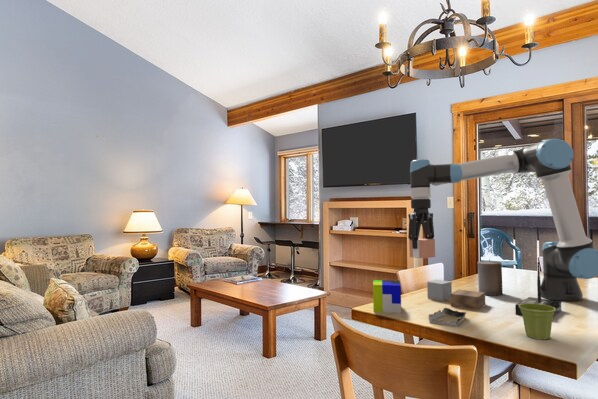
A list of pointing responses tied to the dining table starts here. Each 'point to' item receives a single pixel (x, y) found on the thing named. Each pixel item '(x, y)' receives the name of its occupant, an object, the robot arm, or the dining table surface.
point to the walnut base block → (468, 299)
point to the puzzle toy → (386, 296)
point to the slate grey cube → (439, 290)
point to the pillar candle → (490, 277)
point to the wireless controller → (539, 299)
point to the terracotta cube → (424, 248)
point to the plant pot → (537, 320)
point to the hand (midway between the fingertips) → (422, 256)
